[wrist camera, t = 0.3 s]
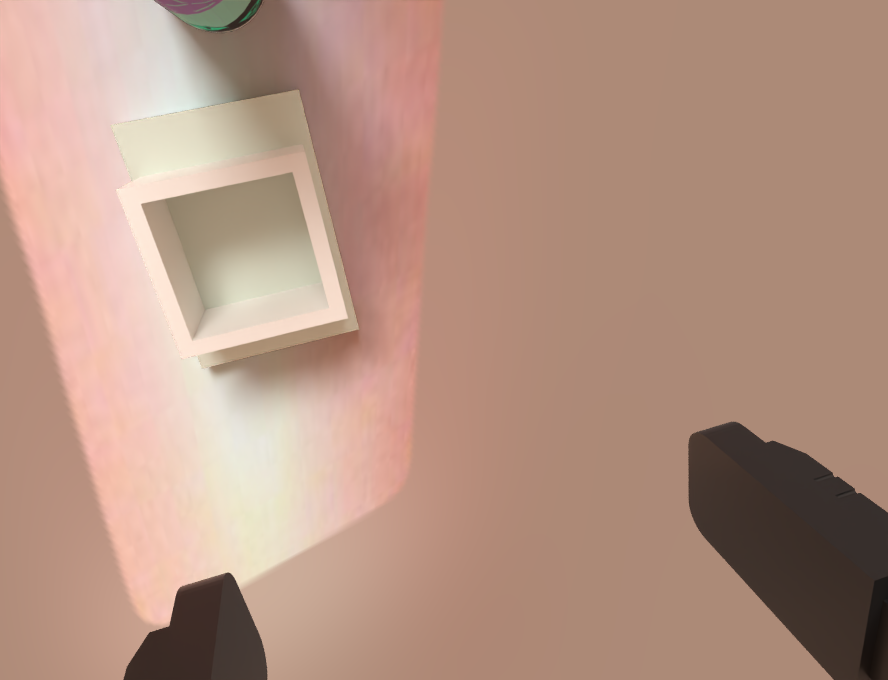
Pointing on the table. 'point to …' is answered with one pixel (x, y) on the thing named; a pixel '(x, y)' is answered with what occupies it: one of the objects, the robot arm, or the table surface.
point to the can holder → (235, 227)
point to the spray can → (214, 13)
